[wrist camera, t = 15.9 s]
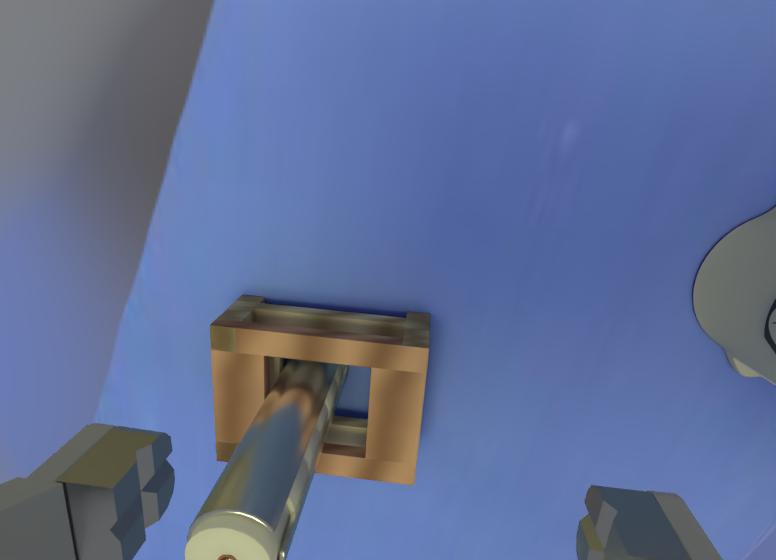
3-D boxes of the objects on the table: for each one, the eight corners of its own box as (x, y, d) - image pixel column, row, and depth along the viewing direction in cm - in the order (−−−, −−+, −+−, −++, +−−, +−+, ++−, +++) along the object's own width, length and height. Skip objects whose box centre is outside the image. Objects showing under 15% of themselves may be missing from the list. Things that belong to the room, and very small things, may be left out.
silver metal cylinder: (342, 396, 54) (273, 612, 31) (286, 383, 54) (175, 588, 31) (353, 346, 52) (287, 537, 29) (295, 332, 52) (181, 512, 29)
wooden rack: (429, 313, 50) (429, 348, 43) (416, 434, 55) (414, 485, 48) (242, 294, 51) (209, 325, 44) (246, 414, 56) (216, 460, 49)
